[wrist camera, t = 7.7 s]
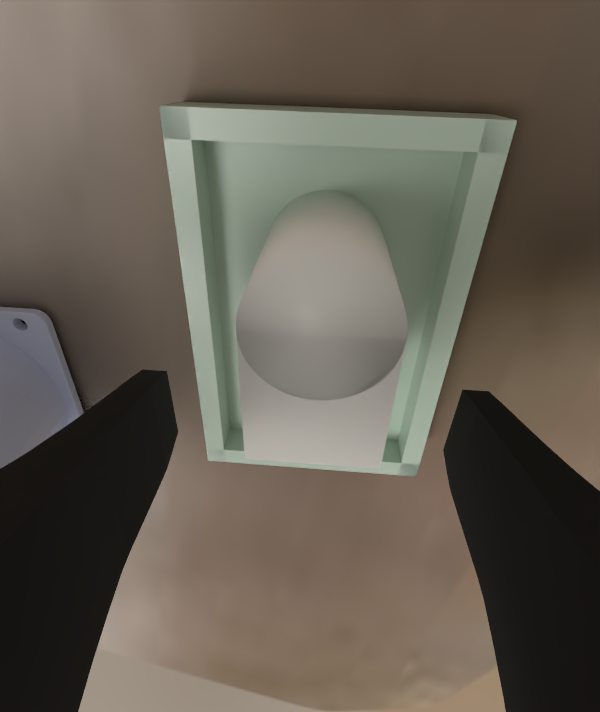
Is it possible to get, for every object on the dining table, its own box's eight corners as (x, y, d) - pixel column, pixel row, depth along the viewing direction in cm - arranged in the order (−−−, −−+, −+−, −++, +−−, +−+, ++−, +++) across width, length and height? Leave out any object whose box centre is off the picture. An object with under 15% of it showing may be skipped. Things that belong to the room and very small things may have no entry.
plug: (362, 402, 16) (370, 515, 12) (270, 396, 16) (247, 505, 12) (392, 193, 12) (423, 257, 8) (266, 187, 12) (230, 247, 8)
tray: (218, 429, 18) (208, 460, 17) (181, 101, 11) (159, 105, 10) (409, 443, 18) (416, 476, 17) (492, 113, 11) (517, 120, 10)
